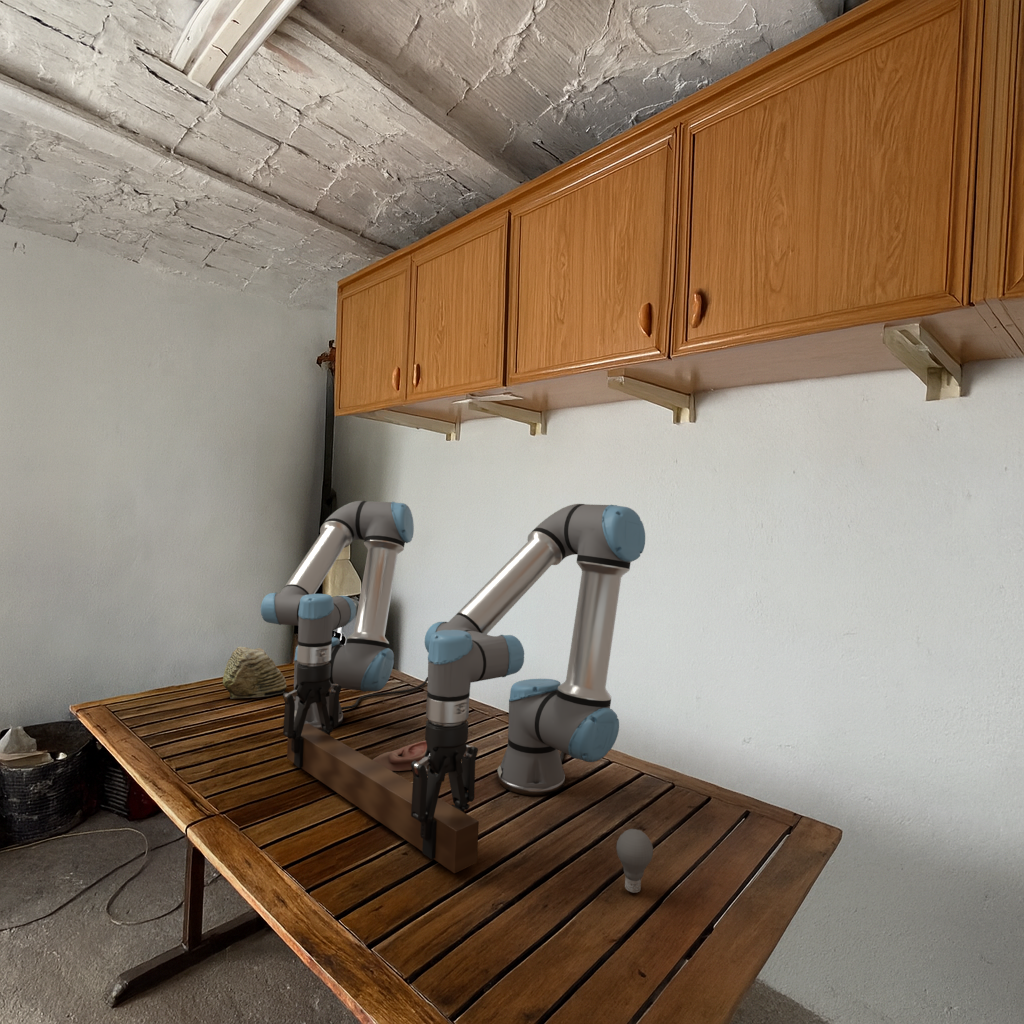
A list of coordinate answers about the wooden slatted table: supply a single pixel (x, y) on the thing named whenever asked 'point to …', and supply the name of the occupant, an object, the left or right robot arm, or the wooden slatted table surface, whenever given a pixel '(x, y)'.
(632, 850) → the light bulb
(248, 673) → the fossil
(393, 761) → the anatomical model
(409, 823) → the bar
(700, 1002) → the wooden slatted table surface
